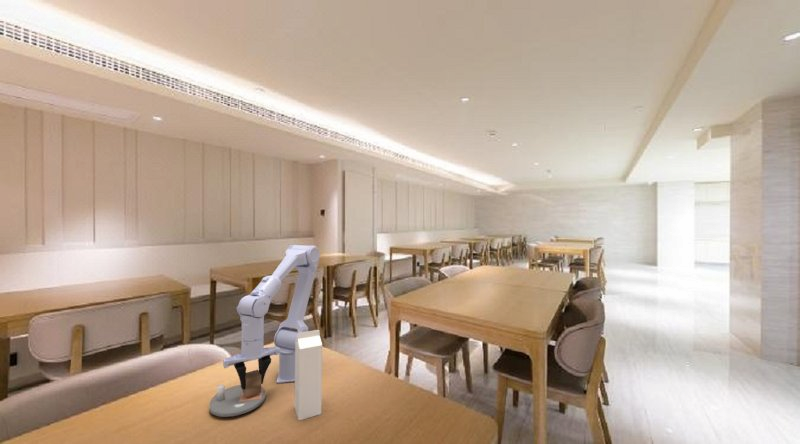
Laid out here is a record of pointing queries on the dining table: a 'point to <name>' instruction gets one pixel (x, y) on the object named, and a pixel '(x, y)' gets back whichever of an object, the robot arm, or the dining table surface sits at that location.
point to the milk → (308, 374)
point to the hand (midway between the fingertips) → (252, 385)
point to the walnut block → (252, 383)
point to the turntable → (234, 401)
